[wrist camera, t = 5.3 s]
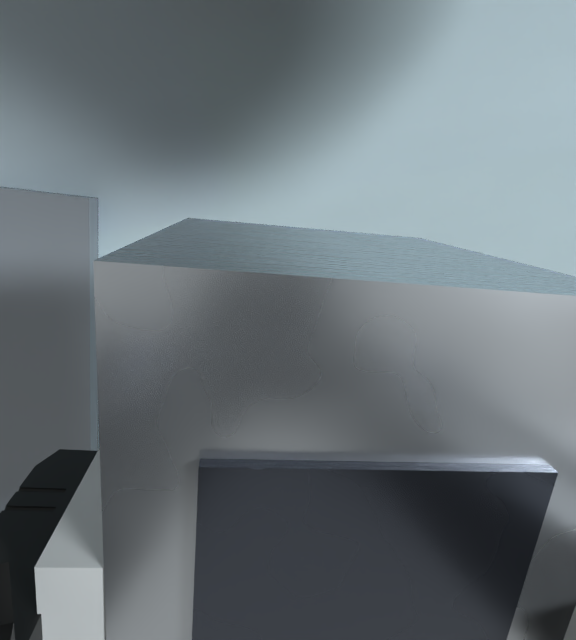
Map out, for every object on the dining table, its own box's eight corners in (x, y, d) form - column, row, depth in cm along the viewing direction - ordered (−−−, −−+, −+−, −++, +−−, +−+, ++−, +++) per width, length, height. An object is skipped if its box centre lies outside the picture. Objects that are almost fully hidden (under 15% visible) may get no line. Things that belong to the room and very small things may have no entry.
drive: (187, 217, 10) (87, 262, 4) (420, 238, 11) (698, 306, 4) (178, 547, 13) (112, 926, 6) (366, 546, 14) (485, 883, 7)
